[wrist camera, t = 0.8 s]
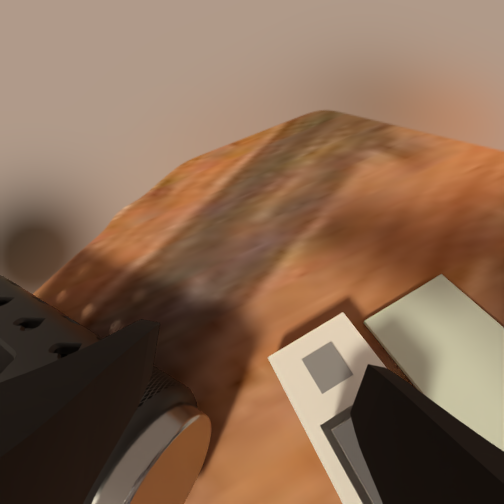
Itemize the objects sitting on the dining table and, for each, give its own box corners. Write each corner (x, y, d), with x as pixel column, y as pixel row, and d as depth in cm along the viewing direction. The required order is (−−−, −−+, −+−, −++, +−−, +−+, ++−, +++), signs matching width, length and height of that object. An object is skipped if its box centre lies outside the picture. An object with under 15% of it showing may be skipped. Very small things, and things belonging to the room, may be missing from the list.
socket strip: (533, 576, 14) (572, 604, 12) (425, 657, 13) (444, 702, 11) (341, 322, 23) (343, 311, 21) (272, 363, 23) (267, 356, 20)
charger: (421, 462, 17) (469, 481, 11) (369, 497, 17) (391, 534, 11) (376, 399, 19) (398, 388, 14) (330, 429, 19) (332, 430, 13)
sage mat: (643, 456, 15) (654, 457, 15) (535, 535, 15) (543, 539, 14) (439, 277, 23) (441, 274, 23) (363, 323, 23) (364, 320, 22)
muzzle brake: (48, 294, 33) (-45, 249, 25) (235, 407, 22) (178, 395, 13) (-16, 368, 29) (-152, 345, 21) (170, 555, 18) (29, 670, 9)
